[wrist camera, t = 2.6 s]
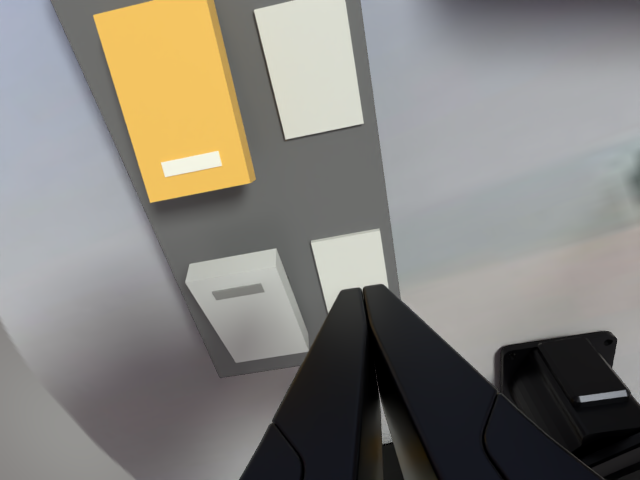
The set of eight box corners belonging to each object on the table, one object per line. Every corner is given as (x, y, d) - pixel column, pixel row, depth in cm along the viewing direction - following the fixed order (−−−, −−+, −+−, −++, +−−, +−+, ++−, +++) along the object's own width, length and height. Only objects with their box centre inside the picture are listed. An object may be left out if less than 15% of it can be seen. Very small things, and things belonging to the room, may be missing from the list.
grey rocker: (308, 333, 21) (309, 352, 20) (237, 344, 21) (235, 363, 20) (276, 248, 16) (275, 267, 16) (189, 263, 17) (184, 283, 16)
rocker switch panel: (397, 311, 24) (409, 356, 21) (230, 338, 25) (217, 385, 22) (333, -137, 14) (338, -176, 11) (66, -67, 15) (2, -85, 12)
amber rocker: (256, 179, 15) (249, 183, 14) (162, 198, 15) (149, 203, 14) (213, -2, 14) (202, -13, 13) (109, 22, 14) (91, 14, 13)
